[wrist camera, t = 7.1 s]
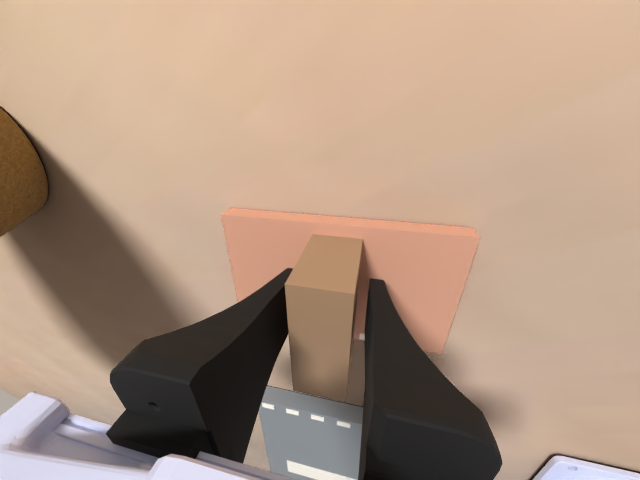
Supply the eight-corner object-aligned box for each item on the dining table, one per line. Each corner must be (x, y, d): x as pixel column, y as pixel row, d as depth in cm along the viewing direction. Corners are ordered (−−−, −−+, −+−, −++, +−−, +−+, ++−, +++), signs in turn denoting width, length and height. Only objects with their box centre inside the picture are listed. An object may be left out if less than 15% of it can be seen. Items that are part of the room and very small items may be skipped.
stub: (473, 227, 11) (529, 301, 7) (438, 339, 15) (461, 436, 10) (230, 207, 14) (160, 253, 9) (248, 308, 17) (202, 377, 13)
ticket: (413, 418, 19) (415, 438, 17) (389, 496, 25) (389, 514, 24) (262, 384, 21) (255, 400, 20) (276, 463, 27) (271, 479, 26)
